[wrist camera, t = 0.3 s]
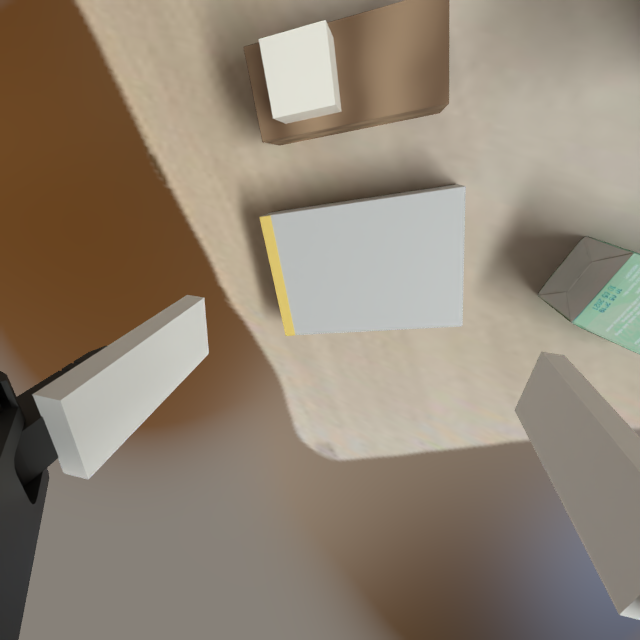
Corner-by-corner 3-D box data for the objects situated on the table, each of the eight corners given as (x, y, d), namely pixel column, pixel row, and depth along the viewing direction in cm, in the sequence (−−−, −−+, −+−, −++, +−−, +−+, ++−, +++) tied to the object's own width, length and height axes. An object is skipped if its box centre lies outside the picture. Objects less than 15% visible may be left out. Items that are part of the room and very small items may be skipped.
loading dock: (272, 212, 37) (259, 216, 34) (457, 184, 33) (465, 186, 29) (294, 321, 43) (285, 335, 39) (455, 311, 38) (462, 326, 34)
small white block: (274, 54, 27) (258, 39, 23) (333, 37, 25) (325, 19, 22) (285, 123, 28) (273, 118, 25) (341, 111, 27) (335, 104, 24)
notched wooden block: (280, 145, 34) (262, 141, 29) (266, 65, 32) (243, 46, 27) (439, 113, 31) (448, 103, 26) (438, 19, 28) (449, -13, 23)
